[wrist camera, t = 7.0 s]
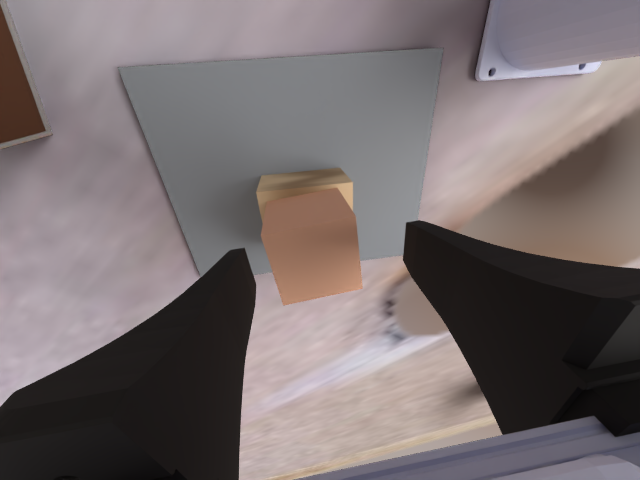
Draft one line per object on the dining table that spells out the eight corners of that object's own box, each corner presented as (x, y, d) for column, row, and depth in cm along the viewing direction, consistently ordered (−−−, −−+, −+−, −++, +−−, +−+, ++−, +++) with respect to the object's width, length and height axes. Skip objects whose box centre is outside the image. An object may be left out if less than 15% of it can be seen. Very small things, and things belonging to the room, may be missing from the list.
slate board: (436, 50, 16) (443, 47, 16) (408, 249, 24) (412, 253, 24) (125, 68, 15) (117, 67, 14) (205, 276, 23) (202, 281, 22)
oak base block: (340, 167, 19) (352, 182, 15) (341, 235, 22) (352, 260, 18) (261, 175, 18) (256, 192, 15) (274, 243, 21) (272, 271, 18)
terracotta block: (337, 187, 15) (356, 216, 11) (344, 247, 17) (362, 288, 13) (266, 201, 15) (260, 235, 11) (283, 259, 17) (283, 305, 13)
